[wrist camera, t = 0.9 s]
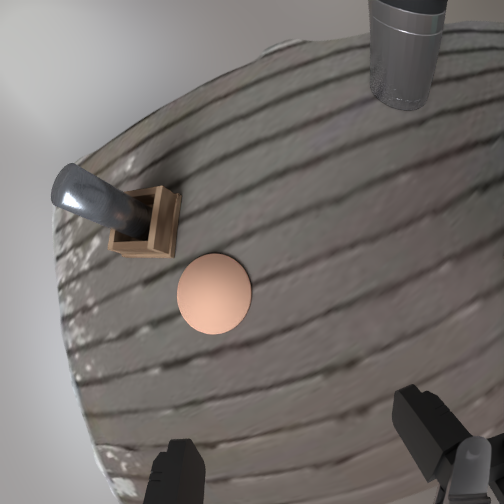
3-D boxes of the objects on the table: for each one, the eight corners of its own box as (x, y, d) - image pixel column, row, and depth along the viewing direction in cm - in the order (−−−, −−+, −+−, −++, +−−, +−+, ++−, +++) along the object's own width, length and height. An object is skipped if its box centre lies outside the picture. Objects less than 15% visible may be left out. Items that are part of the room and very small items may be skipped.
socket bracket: (134, 201, 42) (116, 191, 38) (181, 195, 40) (165, 183, 35) (126, 257, 41) (105, 251, 36) (174, 257, 38) (155, 251, 34)
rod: (138, 211, 40) (58, 168, 25) (164, 208, 39) (82, 158, 24) (133, 242, 39) (47, 208, 24) (159, 241, 38) (70, 202, 23)
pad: (182, 254, 38) (180, 253, 37) (254, 254, 35) (252, 253, 34) (176, 329, 36) (174, 329, 35) (249, 337, 33) (248, 338, 32)
